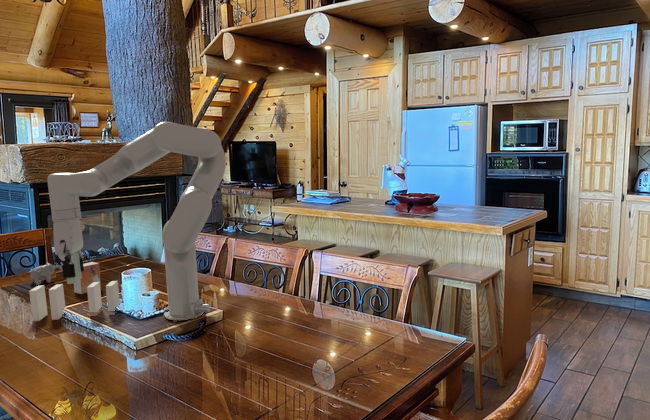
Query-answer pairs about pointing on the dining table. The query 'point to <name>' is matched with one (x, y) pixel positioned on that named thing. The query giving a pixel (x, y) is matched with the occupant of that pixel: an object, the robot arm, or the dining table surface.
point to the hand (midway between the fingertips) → (73, 273)
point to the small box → (88, 277)
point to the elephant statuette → (43, 273)
